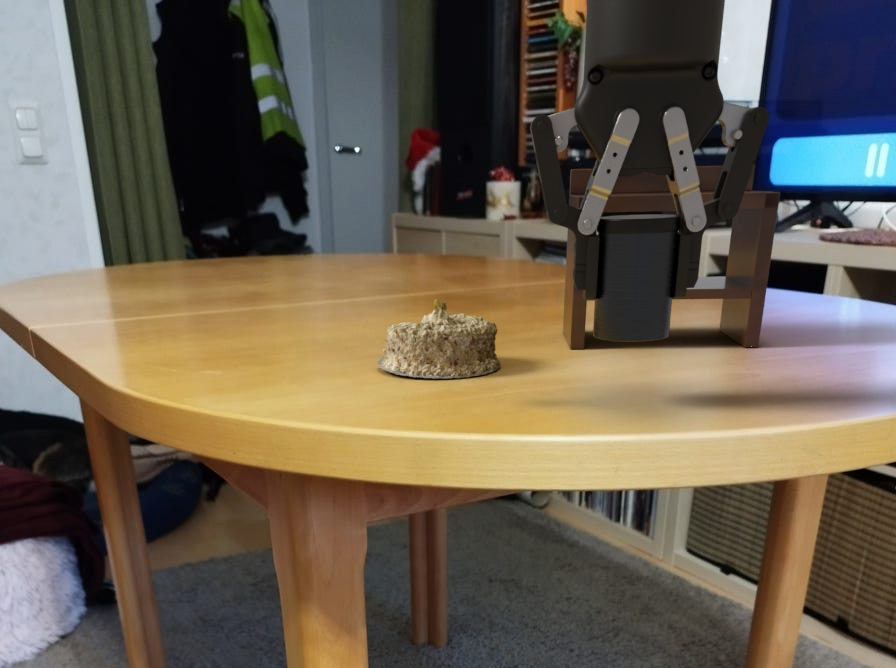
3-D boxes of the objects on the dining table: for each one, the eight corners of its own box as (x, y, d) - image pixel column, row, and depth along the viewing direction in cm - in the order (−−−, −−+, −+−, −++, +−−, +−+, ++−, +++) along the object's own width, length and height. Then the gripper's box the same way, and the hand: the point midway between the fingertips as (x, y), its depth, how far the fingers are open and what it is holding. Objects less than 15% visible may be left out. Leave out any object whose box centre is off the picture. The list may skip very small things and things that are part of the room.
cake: (515, 366, 77) (522, 298, 74) (476, 392, 68) (483, 316, 66) (405, 350, 80) (408, 284, 77) (355, 373, 71) (357, 301, 69)
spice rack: (731, 330, 88) (752, 165, 82) (758, 347, 79) (784, 164, 73) (562, 331, 89) (570, 169, 83) (570, 349, 80) (579, 168, 74)
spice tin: (663, 328, 62) (673, 213, 58) (676, 341, 57) (688, 217, 54) (588, 330, 62) (593, 216, 59) (595, 342, 58) (601, 220, 54)
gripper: (528, -36, 48) (521, 308, 56) (811, -51, 47) (764, 303, 55) (524, -11, 55) (518, 293, 62) (772, -24, 54) (735, 288, 61)
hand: (633, 296), depth 58 cm, fingers closed on spice tin, 5 cm apart
